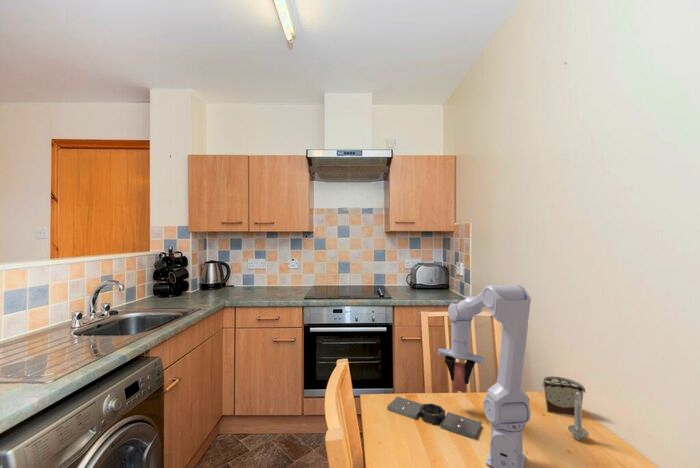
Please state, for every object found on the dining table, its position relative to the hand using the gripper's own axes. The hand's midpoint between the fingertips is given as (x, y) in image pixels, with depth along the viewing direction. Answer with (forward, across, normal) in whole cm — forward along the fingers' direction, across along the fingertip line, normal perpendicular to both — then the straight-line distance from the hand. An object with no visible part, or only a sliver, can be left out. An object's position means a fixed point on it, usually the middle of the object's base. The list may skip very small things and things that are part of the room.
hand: (459, 381), depth 103 cm
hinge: (+9, +6, +10) cm, 15 cm away
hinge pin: (+2, 0, 0) cm, 2 cm away
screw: (+10, -32, -4) cm, 34 cm away
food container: (+10, -28, -20) cm, 36 cm away
